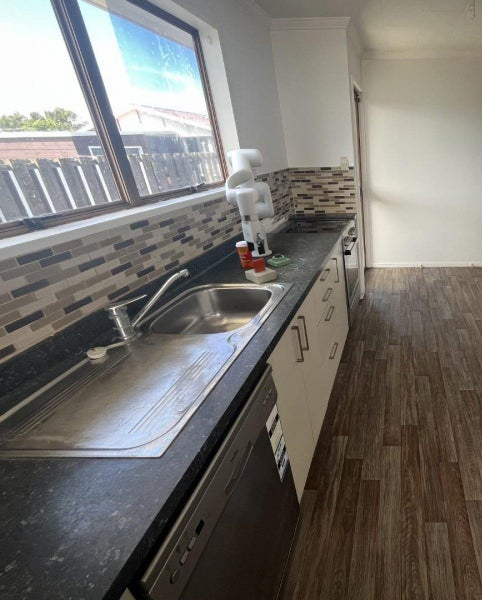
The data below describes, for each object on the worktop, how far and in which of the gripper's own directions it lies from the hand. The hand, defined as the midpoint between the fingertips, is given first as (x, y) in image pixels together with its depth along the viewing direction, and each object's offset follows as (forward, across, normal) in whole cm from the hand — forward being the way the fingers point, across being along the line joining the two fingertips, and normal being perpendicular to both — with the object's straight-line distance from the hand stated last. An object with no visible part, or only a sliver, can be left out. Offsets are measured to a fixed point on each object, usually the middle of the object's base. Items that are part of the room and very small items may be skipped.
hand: (257, 252), depth 162 cm
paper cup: (+14, -24, +5) cm, 28 cm away
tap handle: (+10, 0, 0) cm, 10 cm away
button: (+10, -14, +19) cm, 26 cm away
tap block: (+14, 0, 0) cm, 14 cm away
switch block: (+14, -14, +19) cm, 27 cm away
